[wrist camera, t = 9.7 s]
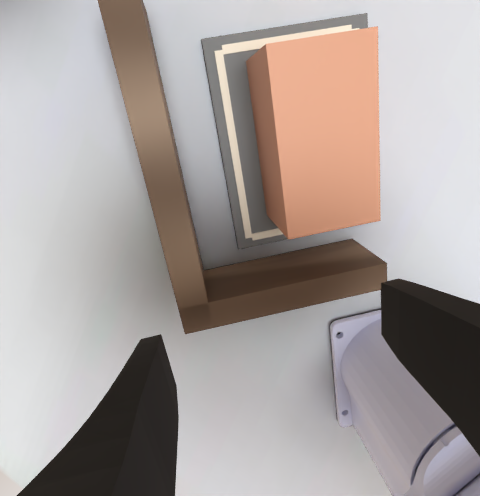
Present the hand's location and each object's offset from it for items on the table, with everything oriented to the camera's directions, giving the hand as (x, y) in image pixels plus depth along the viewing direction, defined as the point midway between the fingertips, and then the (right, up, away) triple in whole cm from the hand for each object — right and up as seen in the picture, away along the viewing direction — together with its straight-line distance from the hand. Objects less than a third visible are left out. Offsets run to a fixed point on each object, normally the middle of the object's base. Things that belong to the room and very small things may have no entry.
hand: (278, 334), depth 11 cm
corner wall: (0, +8, +8) cm, 11 cm away
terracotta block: (+2, +9, +8) cm, 12 cm away
